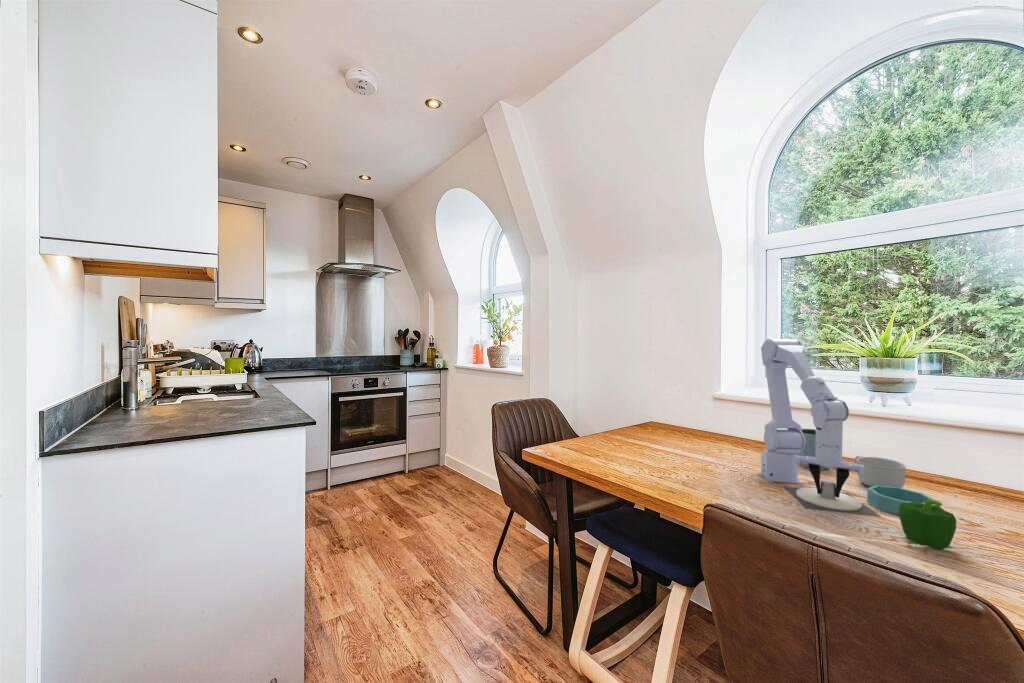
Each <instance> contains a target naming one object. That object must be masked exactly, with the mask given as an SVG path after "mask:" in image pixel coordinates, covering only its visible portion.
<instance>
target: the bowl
mask: <svg viewBox="0 0 1024 683" xmlns="http://www.w3.org/2000/svg"><path fill="white" fill-rule="evenodd" d="M866 493H867V494H866V497H867V498H866V502H868V503H869V504H870V505H872V506H874V508H876V509H877V510H880V511H883V512H887V513H891V514H895V515H898V516H899V506H900V505H901V503H910V502H915V501H918V502H920V503H923V504H925V502H926V501H927V500H932V499H933V500H935V498H932V497H931V496H928V495H927V494H925V493H923V492H919V491H914V490H910V489H906V488H903V487H902V488H899V487H890V486H879V485H875V486H872V487H869V486H868V487H867V490H866ZM932 505H935V504H932ZM936 506H937V505H936Z"/></svg>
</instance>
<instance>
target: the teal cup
mask: <svg viewBox="0 0 1024 683" xmlns="http://www.w3.org/2000/svg"><path fill="white" fill-rule="evenodd" d="M801 430H802V433H803V435H804V437H805V440H806V443H805V447H804V448H803V449H802V450H801V453H798V455H799V456H810V457H815V443H816V428H815V429H814V428H801ZM798 466H801V467H803V466H804V467H803V468H807V467H808V469H809V465H806V464H798ZM820 469H822V470H824V469H827V470H829V469H830V468H826V467H820ZM822 470H821V471H822Z"/></svg>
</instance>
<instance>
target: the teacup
mask: <svg viewBox="0 0 1024 683" xmlns="http://www.w3.org/2000/svg"><path fill="white" fill-rule="evenodd" d="M854 463H855V464H860V465H864V474H860V473H858V472H857V476H858V479H859V480H860V482H861V483H863V484H864V485H866V486H867V487H868V488H869V487H872V486H875V485H879V486H890V487H899V488H903V487H904V486H905V483H906V468H907V467H906V466H907V465H906V464H905V463H903V462H901V461H898V460H895V459H889V458H886V457H885V458H884V457H877V456H876V457H875V456H863V455H857V456H855V457H854Z"/></svg>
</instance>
